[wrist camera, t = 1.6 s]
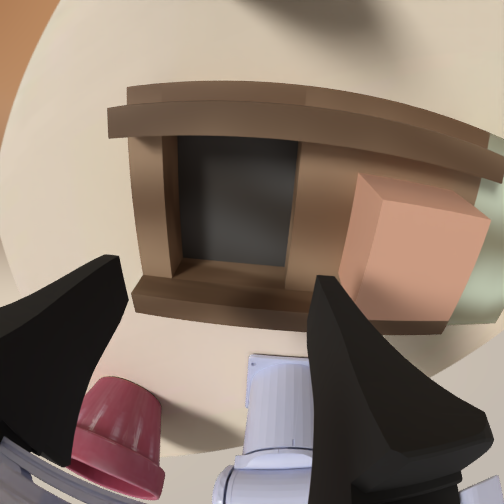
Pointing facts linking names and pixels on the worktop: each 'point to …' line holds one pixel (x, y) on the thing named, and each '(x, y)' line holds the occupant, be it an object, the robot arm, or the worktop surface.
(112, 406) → the plant pot
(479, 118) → the worktop surface
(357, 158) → the chute
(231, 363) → the worktop surface
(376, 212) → the block
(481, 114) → the worktop surface
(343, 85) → the worktop surface
